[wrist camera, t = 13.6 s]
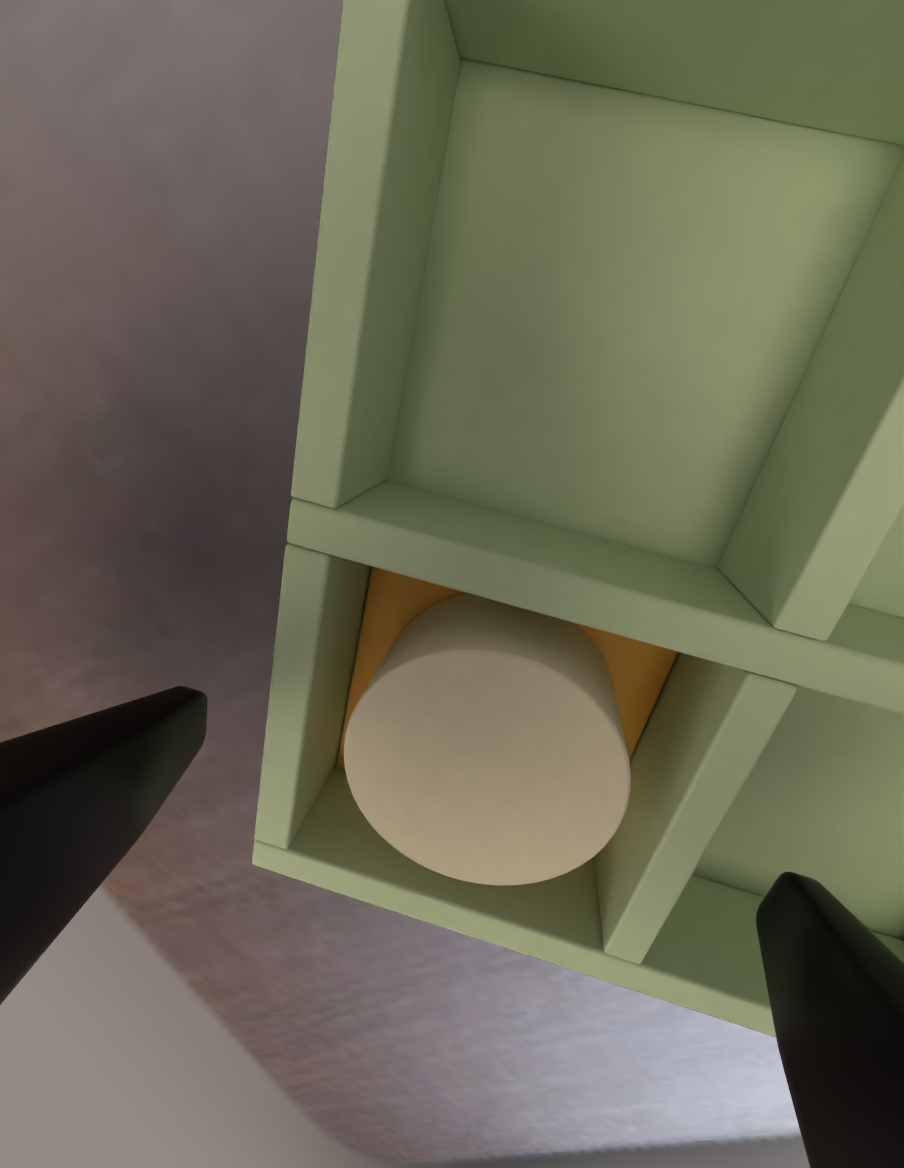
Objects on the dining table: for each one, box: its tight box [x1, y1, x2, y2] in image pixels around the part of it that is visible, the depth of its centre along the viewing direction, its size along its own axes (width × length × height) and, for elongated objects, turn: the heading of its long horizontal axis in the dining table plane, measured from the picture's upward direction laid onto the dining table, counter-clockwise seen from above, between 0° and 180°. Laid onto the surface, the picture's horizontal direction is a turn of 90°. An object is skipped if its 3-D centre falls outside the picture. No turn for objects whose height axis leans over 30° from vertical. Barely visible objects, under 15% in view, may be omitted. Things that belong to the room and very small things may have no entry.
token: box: [344, 593, 631, 886], centre depth 9 cm, size 5×5×2 cm
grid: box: [252, 0, 904, 1037], centre depth 8 cm, size 14×14×3 cm
